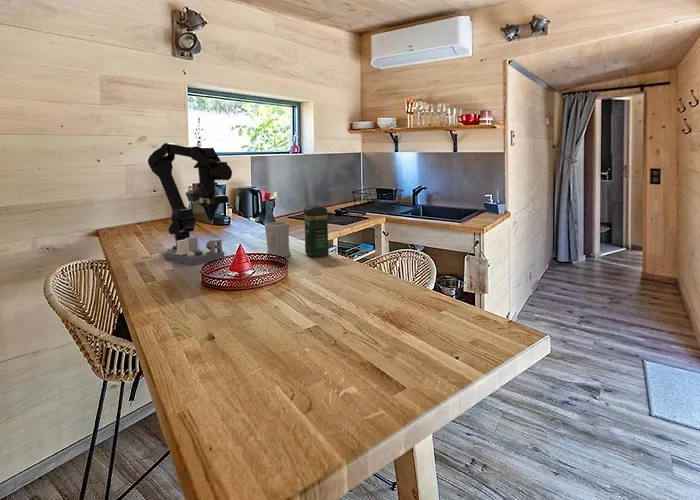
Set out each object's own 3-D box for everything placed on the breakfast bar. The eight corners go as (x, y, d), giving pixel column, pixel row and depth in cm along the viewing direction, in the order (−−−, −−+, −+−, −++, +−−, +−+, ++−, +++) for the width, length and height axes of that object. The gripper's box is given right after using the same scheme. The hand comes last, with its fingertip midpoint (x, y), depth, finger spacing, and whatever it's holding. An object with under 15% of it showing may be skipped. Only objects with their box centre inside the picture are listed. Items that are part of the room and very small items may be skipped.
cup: (293, 258, 169) (291, 225, 166) (268, 260, 166) (266, 227, 164) (288, 252, 179) (287, 221, 176) (264, 254, 176) (262, 222, 173)
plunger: (206, 250, 171) (205, 241, 171) (214, 248, 174) (213, 240, 173) (215, 252, 168) (214, 243, 167) (222, 250, 170) (222, 242, 169)
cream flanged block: (175, 253, 168) (174, 240, 167) (185, 251, 171) (184, 238, 170) (181, 255, 165) (180, 241, 164) (191, 253, 168) (190, 240, 167)
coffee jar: (331, 256, 170) (330, 205, 166) (311, 258, 167) (308, 207, 163) (322, 251, 179) (321, 202, 175) (303, 253, 176) (300, 204, 172)
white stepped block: (184, 250, 173) (183, 237, 172) (194, 248, 175) (193, 236, 174) (190, 252, 170) (189, 239, 169) (199, 250, 173) (198, 237, 172)
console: (165, 257, 174) (163, 239, 172) (198, 251, 183) (197, 233, 182) (190, 265, 162) (188, 245, 160) (224, 257, 172) (223, 239, 170)
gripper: (175, 180, 178) (179, 221, 181) (201, 182, 166) (205, 225, 169) (201, 178, 186) (205, 217, 189) (228, 180, 174) (231, 221, 177)
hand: (210, 220), depth 181 cm, fingers closed
